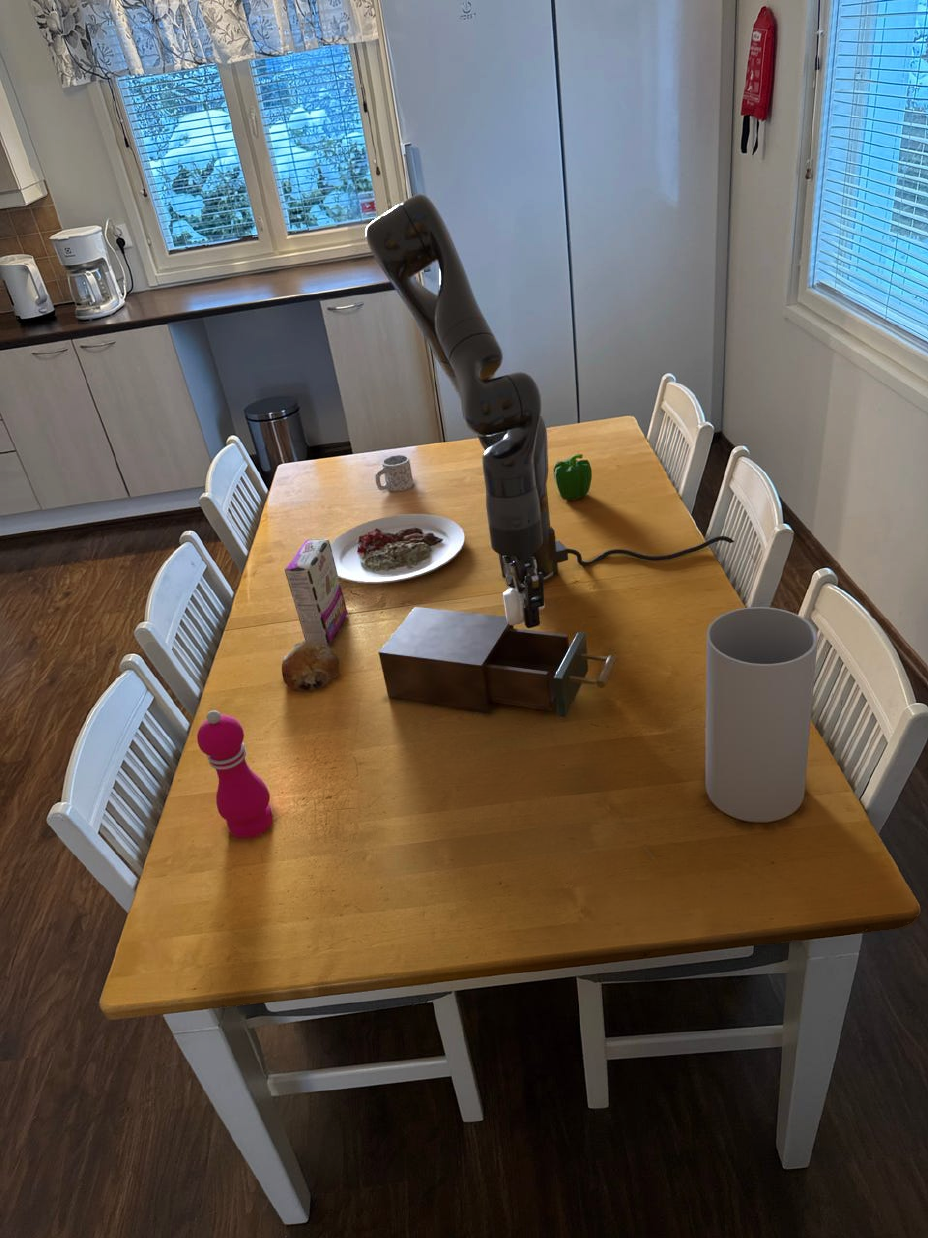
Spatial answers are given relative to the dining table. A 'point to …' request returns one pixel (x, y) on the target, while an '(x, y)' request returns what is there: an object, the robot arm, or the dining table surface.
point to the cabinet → (442, 658)
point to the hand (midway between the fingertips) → (525, 615)
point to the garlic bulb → (514, 607)
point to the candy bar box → (316, 591)
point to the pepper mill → (235, 777)
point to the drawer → (541, 669)
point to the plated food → (396, 548)
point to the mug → (395, 473)
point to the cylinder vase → (758, 711)
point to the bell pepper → (573, 477)
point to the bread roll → (310, 666)
